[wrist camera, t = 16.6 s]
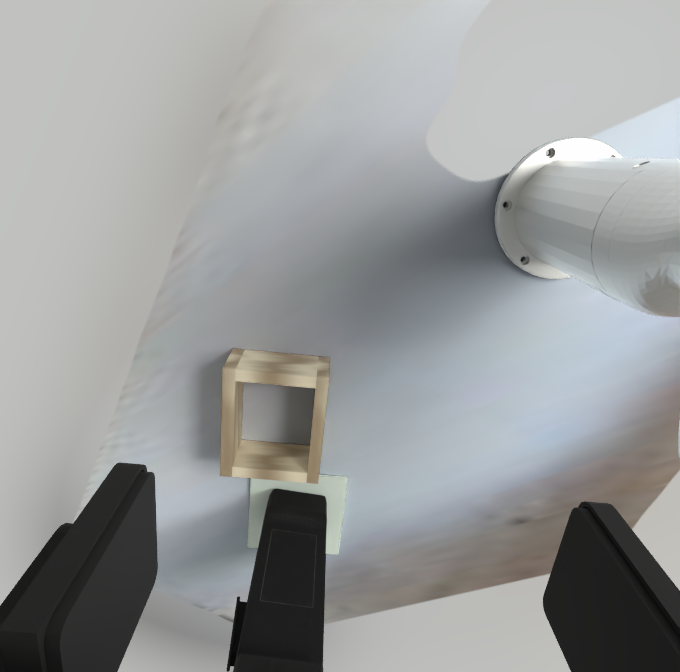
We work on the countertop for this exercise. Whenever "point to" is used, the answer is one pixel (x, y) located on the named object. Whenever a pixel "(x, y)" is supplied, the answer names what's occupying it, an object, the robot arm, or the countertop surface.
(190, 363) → the countertop surface
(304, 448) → the wooden pocket
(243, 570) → the countertop surface
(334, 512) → the rubber mat
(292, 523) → the portable radio
